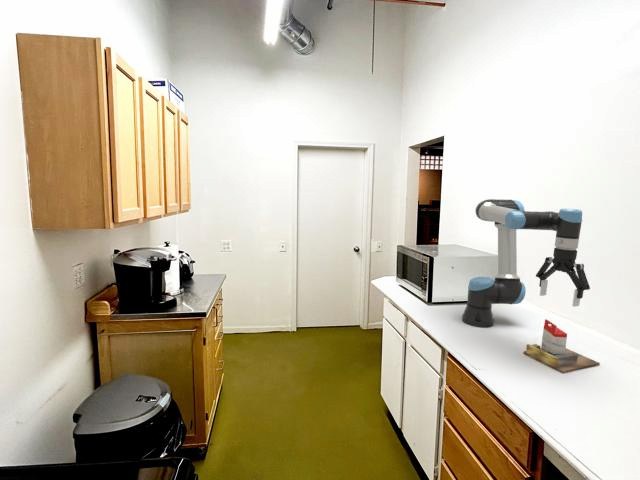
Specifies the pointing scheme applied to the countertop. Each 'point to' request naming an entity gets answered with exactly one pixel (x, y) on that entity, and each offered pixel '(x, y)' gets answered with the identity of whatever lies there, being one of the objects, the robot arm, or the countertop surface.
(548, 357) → the board
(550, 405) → the countertop surface
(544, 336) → the ink box
